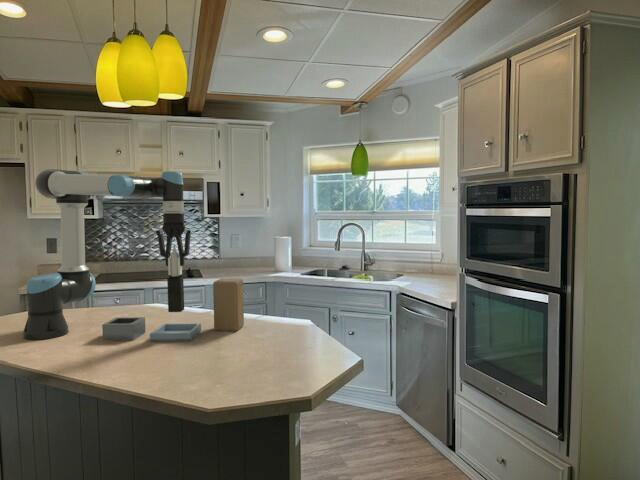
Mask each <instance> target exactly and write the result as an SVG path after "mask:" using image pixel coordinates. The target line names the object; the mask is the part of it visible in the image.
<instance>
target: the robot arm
mask: <svg viewBox="0 0 640 480" xmlns="http://www.w3.org/2000/svg"><path fill="white" fill-rule="evenodd" d="M183 176H184V175H183V173H182V172H180V171H170V170H168V171H163V172H162V173H161V177H146V176H137V175H136V176H135V175H127V174H87V173H85V172H81V171H78V170H66V169H65V170H64V169H57V168H56V169H54V168H49V169H45V170H43V171H40V172H39V174H38V175H37V176H36V177H35V188H36V190H37V191H38V193H39V194H40V195H42V196H43V197H45V198H48V199H52V200H53V199H54V200H55V204H56V206H58V207H59V208H60V240H61V241H60V244H61V246H60V247H61V249H60V250H61V252H60V253H61V255H60V256H61V265H60V267H59V268H58V269H57V272H49V273H48V272H47V273H42V274H39V275H34V276H32V277H30V278H29V279H28V280H27V282H26V288H25V289H26V290H25V292H26V299H27V318H26V319H27V320H26V323H25V326H24V328H23V331H22V332H23V339H24V340H25V339H26V340H34V341H35V340H36V341H37V340H47V339H53V338H57V337H61V336H65V335H67V334H68V333H69V324H68V323H67V321H66V320H67V319H66V318H65V316H64V312H63V305H66V304H70V303H71V304H72V303H73V302H80V301H83V300H86V299H88V298H90V297H91V296H92V295H93V294H94V292H95V290H96V285H97V284H96V283H97V282H96V278H95V277H94V275H93V274H92V273H91V272H90V268H89V267H88V266H87V265H86V248H85V247H86V244H85V239H86V237H85V235H86V234H85V208H86V207H87V206H88V205H89V200H90V199H91V198H92V197H93V196H104V197H105V196H110V197H111V196H112V197H119V198H121V197H124V198H125V197H128V198H129V197H132V198H133V197H134V198H142V199H149V198H150V199H151V198H162V211H163V212H164V213H163V215H162V216H163V217H162V218H163V219H162V220H163V222H162V223H163V225H162V228H159V229H157V230H156V231H155V233H156V235H157V239H158V248H159V255H160V257H164V258H165V266H166V267H168V268H167V269H168V270H167V271H168V276H171V253H172V247H173V246H172V244H173V239H174V238H175V240H176V245H177V252H178V254H179V258H177V259H178V275H181V276H182V275H183V267H184V266H185V257H186V256H189V255H190V246H191V235H192V233H193V230H192V229H188V228H186V225H185V214H184V212H185V205H184V204H185V203H184V177H183ZM164 233H165V235H166V246H165V238H164ZM183 233H184V234H185V235H184V237H185V239H184V246H183V237H182V235H183Z"/></svg>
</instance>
